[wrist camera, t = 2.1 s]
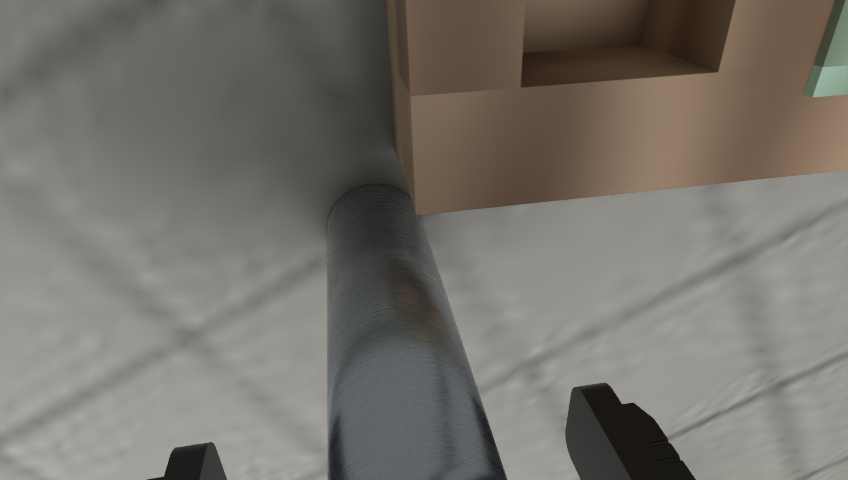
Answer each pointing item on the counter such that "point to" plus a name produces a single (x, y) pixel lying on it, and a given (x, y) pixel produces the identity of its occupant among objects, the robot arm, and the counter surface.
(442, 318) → the pin
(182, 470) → the robot arm
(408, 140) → the bore block
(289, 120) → the counter surface
